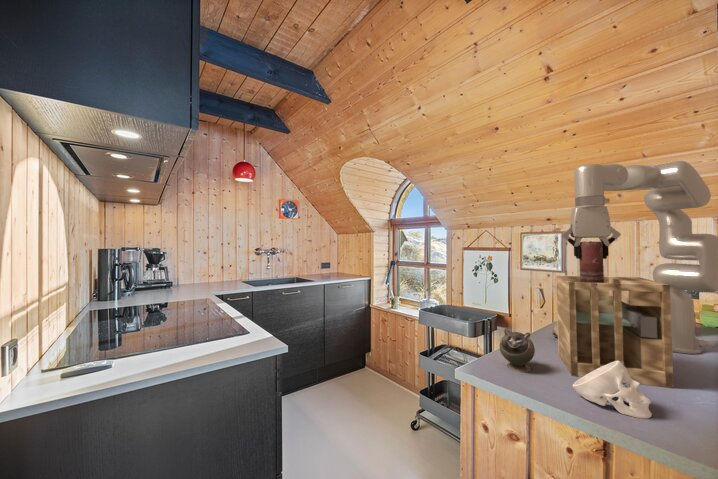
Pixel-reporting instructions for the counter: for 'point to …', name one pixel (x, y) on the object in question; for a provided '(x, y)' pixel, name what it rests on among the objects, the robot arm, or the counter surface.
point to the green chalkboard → (626, 321)
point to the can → (591, 262)
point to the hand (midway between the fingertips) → (590, 258)
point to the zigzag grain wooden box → (615, 328)
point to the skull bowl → (614, 390)
